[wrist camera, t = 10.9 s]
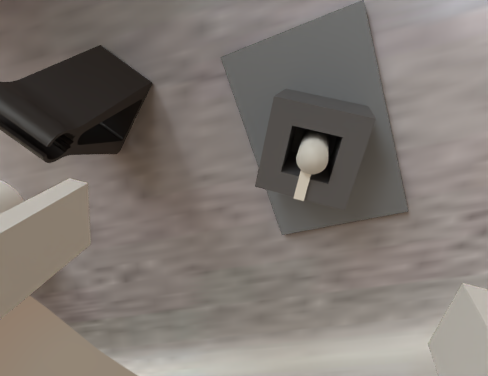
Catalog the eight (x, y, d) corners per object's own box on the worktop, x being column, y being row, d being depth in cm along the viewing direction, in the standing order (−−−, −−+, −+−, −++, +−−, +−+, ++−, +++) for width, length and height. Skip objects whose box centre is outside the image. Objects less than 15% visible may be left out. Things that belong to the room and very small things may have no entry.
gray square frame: (285, 88, 29) (273, 96, 23) (368, 106, 27) (376, 119, 22) (269, 163, 31) (254, 187, 26) (343, 182, 30) (344, 212, 25)
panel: (224, 57, 30) (189, 59, 23) (362, 1, 26) (374, -17, 19) (283, 230, 35) (270, 276, 28) (406, 206, 31) (428, 254, 24)
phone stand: (102, 45, 32) (-13, 43, 21) (153, 82, 32) (64, 99, 22) (73, 120, 36) (-37, 150, 25) (118, 152, 36) (29, 196, 26)
